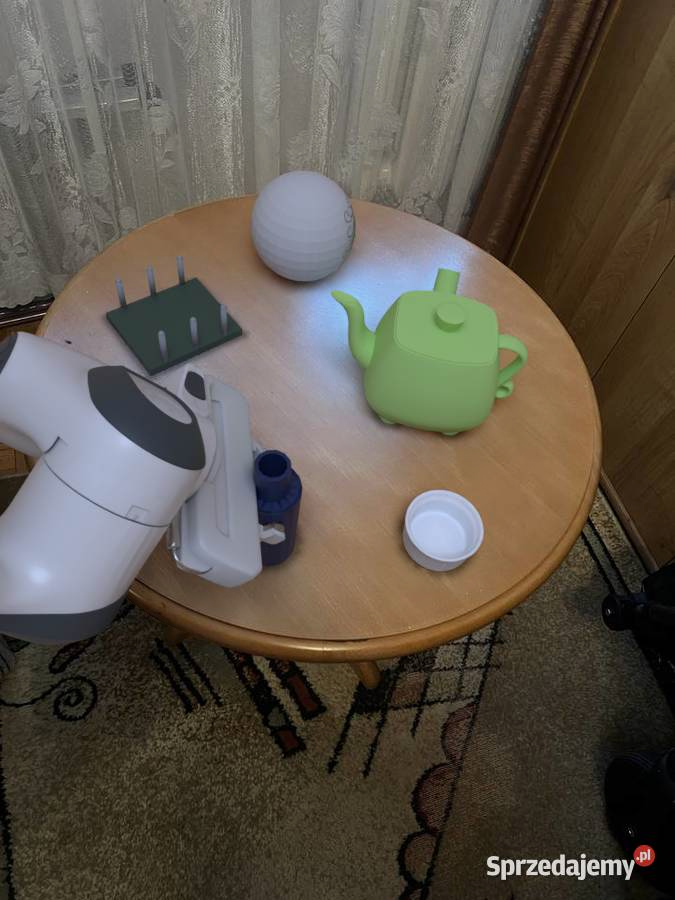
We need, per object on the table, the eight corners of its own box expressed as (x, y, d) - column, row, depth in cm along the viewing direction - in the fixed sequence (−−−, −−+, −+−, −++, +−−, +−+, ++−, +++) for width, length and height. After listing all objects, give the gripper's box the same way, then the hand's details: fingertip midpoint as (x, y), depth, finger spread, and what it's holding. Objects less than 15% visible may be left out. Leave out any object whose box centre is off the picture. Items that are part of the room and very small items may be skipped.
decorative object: (344, 310, 95) (358, 223, 83) (242, 294, 95) (241, 205, 82) (352, 244, 104) (366, 157, 92) (258, 230, 103) (260, 140, 91)
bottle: (260, 576, 71) (264, 504, 58) (230, 535, 73) (227, 457, 60) (305, 547, 73) (318, 472, 60) (274, 508, 76) (280, 428, 62)
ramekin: (485, 564, 75) (498, 547, 71) (416, 586, 72) (425, 570, 69) (452, 499, 79) (462, 481, 76) (386, 518, 77) (393, 500, 73)
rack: (150, 376, 84) (144, 342, 79) (106, 319, 89) (98, 283, 84) (242, 335, 90) (241, 300, 85) (196, 283, 95) (193, 247, 90)
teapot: (500, 341, 96) (541, 254, 83) (500, 461, 83) (547, 380, 70) (333, 308, 95) (347, 216, 82) (308, 424, 83) (320, 336, 70)
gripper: (194, 550, 49) (312, 588, 59) (190, 348, 60) (289, 408, 70) (141, 578, 52) (261, 610, 62) (146, 381, 63) (247, 434, 73)
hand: (276, 501), depth 66 cm, fingers closed on bottle, 6 cm apart
